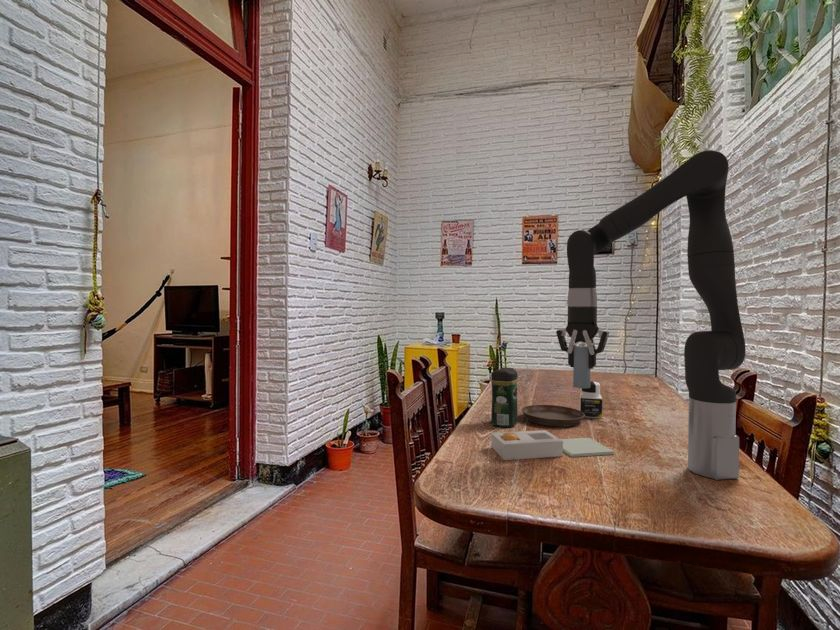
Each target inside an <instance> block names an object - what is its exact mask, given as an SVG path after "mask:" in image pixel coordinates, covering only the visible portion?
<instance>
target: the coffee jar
mask: <svg viewBox="0 0 840 630" xmlns="http://www.w3.org/2000/svg"><path fill="white" fill-rule="evenodd" d="M490 376H491V377H490V379H491V380H490V381H491V424H492V425H493V426H495V427H498V426H499V427H500V428H507V427H509V428H512V427H513V426H515V425H516V424H517V423H518V421H519V420H518V419H519V418H518V417H519V415H518V411H519V410H518V371H517V370H515V368H514V367H503V366H502V367H501V368H499V369H496V370H494V371H492V372H491V375H490Z"/></svg>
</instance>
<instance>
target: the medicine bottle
mask: <svg viewBox="0 0 840 630" xmlns="http://www.w3.org/2000/svg"><path fill="white" fill-rule="evenodd" d="M578 396H579V401H578V402H579V411H581V412H583V413H584V414H585V416H584V417H583V418H588V419H590V418H591V419H603V400H604V399H603V397H602V395H601V383H599V382H597V381H592V380H590V388H581V392H580V393H579V395H578Z"/></svg>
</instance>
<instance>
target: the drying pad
mask: <svg viewBox="0 0 840 630" xmlns="http://www.w3.org/2000/svg"><path fill="white" fill-rule="evenodd" d="M559 439H560V438H559ZM560 440H562V441H563V453H565V454H567V455H568V456H569V457H571V458H581V457H591V456H592V457H594V456H608V455H609V456H610V455H615V451H614V450H613V449H611V448H609V447H607V446H605V445H603V444H602V443H599V442H597V441H596V440H594V439H593V438H591V437H578V438H577V437H575V438H561V439H560Z"/></svg>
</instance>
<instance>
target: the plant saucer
mask: <svg viewBox="0 0 840 630" xmlns="http://www.w3.org/2000/svg"><path fill="white" fill-rule="evenodd" d="M520 409H521V412H522V414H523V415H524V417H525V418H526V419H527V420H528V421H530V422H531V423H534V424H537V425H542V426H547V427H549V426H550V427H570V426H575V425H577V424H579V423H580V422H581V421H582V420H583V419H584V418H585V417H584V416H585V414H584V413H583V412H581V411H579V410H578V409H577V408H572V407H568V406H563V405H554V404H553V405H552V404H551V405H550V404H534V405H533V404H532V405H528V406H523V407H522V408H520Z"/></svg>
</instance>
